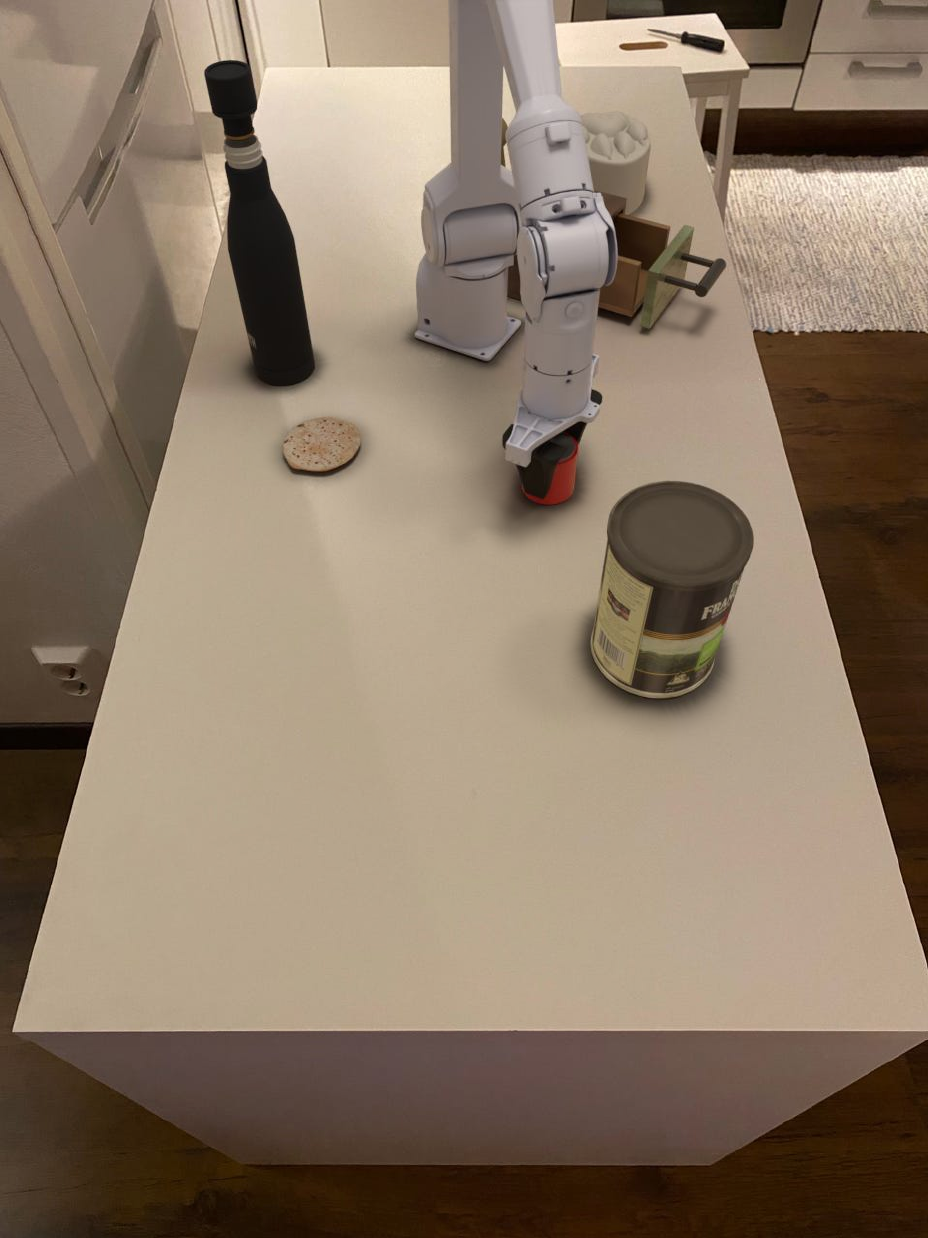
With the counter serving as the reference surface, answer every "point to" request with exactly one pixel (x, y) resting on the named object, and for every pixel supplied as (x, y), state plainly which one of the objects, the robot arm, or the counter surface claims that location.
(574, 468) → the can
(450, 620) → the counter surface
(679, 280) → the drawer
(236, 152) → the black bottle
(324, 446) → the flatbread
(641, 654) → the coffee can
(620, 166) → the lumpy-topped squat cylinder
